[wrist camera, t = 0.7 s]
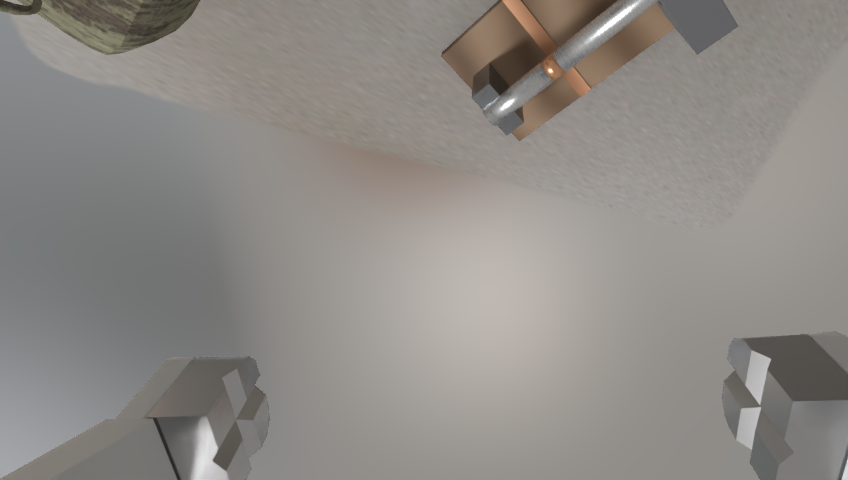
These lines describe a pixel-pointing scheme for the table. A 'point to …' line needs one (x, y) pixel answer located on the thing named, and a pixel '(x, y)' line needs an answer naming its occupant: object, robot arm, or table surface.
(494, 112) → the linear slide rail
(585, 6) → the board
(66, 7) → the tabletop clock
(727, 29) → the collar
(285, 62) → the table surface
